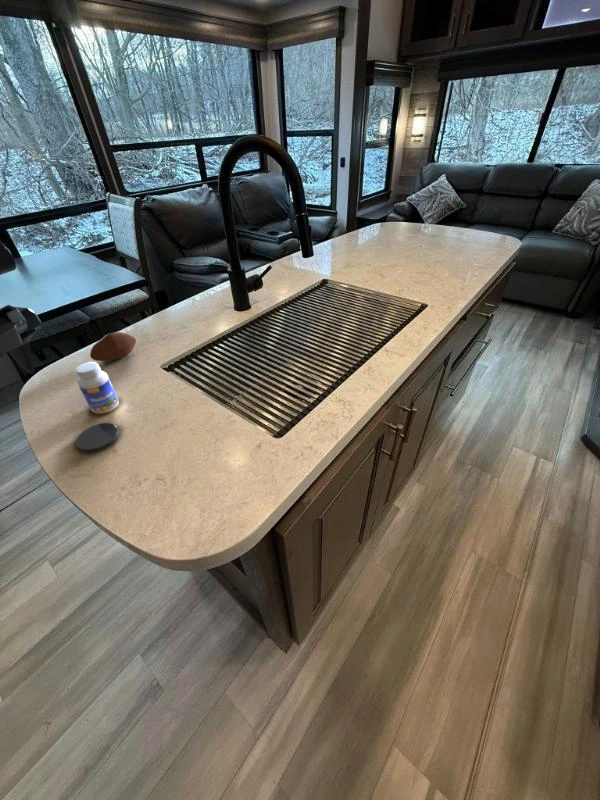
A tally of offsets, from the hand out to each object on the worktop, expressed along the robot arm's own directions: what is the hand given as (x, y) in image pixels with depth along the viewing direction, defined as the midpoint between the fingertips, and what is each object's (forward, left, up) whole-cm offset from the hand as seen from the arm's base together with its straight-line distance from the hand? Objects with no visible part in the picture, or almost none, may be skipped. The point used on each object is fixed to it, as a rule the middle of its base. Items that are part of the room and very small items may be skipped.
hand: (7, 389), depth 53 cm
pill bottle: (+13, -2, -13) cm, 18 cm away
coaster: (+5, -8, -13) cm, 16 cm away
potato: (+30, +11, -13) cm, 34 cm away
